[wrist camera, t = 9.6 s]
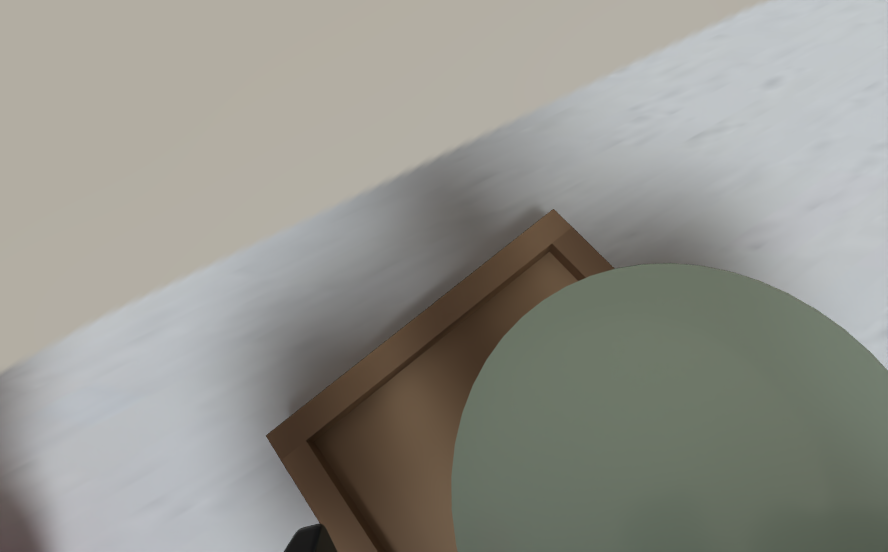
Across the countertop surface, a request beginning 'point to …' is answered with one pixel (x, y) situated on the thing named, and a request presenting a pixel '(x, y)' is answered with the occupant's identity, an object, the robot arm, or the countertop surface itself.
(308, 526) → the robot arm
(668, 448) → the sage cylinder
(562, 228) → the walnut tray
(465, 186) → the countertop surface
